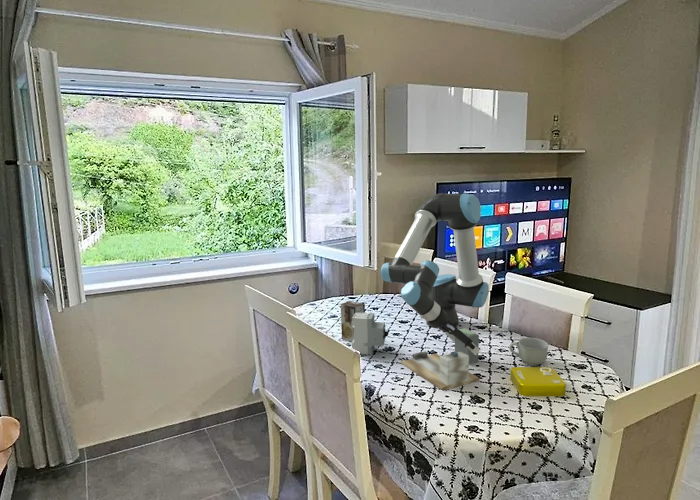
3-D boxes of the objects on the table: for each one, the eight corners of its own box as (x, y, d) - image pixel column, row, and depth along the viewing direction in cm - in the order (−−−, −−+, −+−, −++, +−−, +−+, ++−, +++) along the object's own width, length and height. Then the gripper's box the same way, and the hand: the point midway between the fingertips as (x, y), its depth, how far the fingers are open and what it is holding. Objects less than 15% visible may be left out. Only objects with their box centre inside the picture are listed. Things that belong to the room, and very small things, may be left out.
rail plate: (435, 355, 202) (435, 328, 200) (479, 380, 179) (479, 350, 177) (401, 363, 196) (401, 335, 194) (441, 390, 173) (442, 359, 171)
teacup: (547, 358, 197) (547, 338, 196) (547, 369, 187) (549, 348, 186) (509, 354, 202) (510, 335, 200) (508, 365, 192) (509, 345, 190)
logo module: (464, 355, 202) (465, 327, 200) (478, 362, 195) (478, 333, 193) (454, 357, 200) (455, 329, 198) (467, 364, 193) (468, 335, 191)
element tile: (508, 378, 182) (509, 365, 181) (551, 377, 181) (552, 365, 180) (520, 397, 167) (521, 383, 166) (567, 397, 166) (568, 383, 166)
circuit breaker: (387, 355, 204) (386, 319, 201) (352, 353, 207) (351, 318, 204) (389, 348, 211) (389, 313, 208) (355, 346, 214) (354, 312, 211)
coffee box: (366, 339, 222) (365, 303, 219) (356, 343, 218) (355, 307, 215) (350, 335, 228) (350, 300, 226) (340, 338, 224) (340, 303, 221)
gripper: (411, 312, 200) (444, 343, 208) (444, 332, 177) (480, 365, 185) (423, 297, 201) (455, 329, 209) (458, 315, 178) (492, 349, 186)
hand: (467, 346), depth 197 cm, fingers open, 13 cm apart
